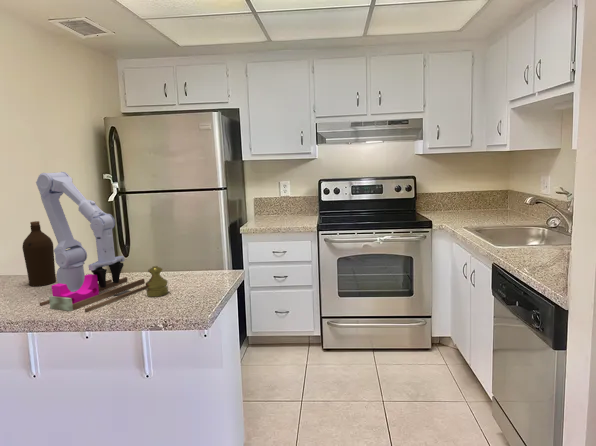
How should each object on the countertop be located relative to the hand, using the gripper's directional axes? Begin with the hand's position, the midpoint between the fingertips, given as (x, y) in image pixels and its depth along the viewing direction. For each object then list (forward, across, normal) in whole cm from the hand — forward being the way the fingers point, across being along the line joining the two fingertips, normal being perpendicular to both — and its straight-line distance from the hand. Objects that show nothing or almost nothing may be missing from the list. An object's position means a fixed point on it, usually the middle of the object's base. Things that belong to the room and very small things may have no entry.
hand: (109, 285), depth 164 cm
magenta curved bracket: (+3, -12, +1) cm, 13 cm away
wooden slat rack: (+2, -5, 0) cm, 5 cm away
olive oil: (+3, +1, +38) cm, 38 cm away
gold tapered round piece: (+3, +2, -20) cm, 20 cm away
